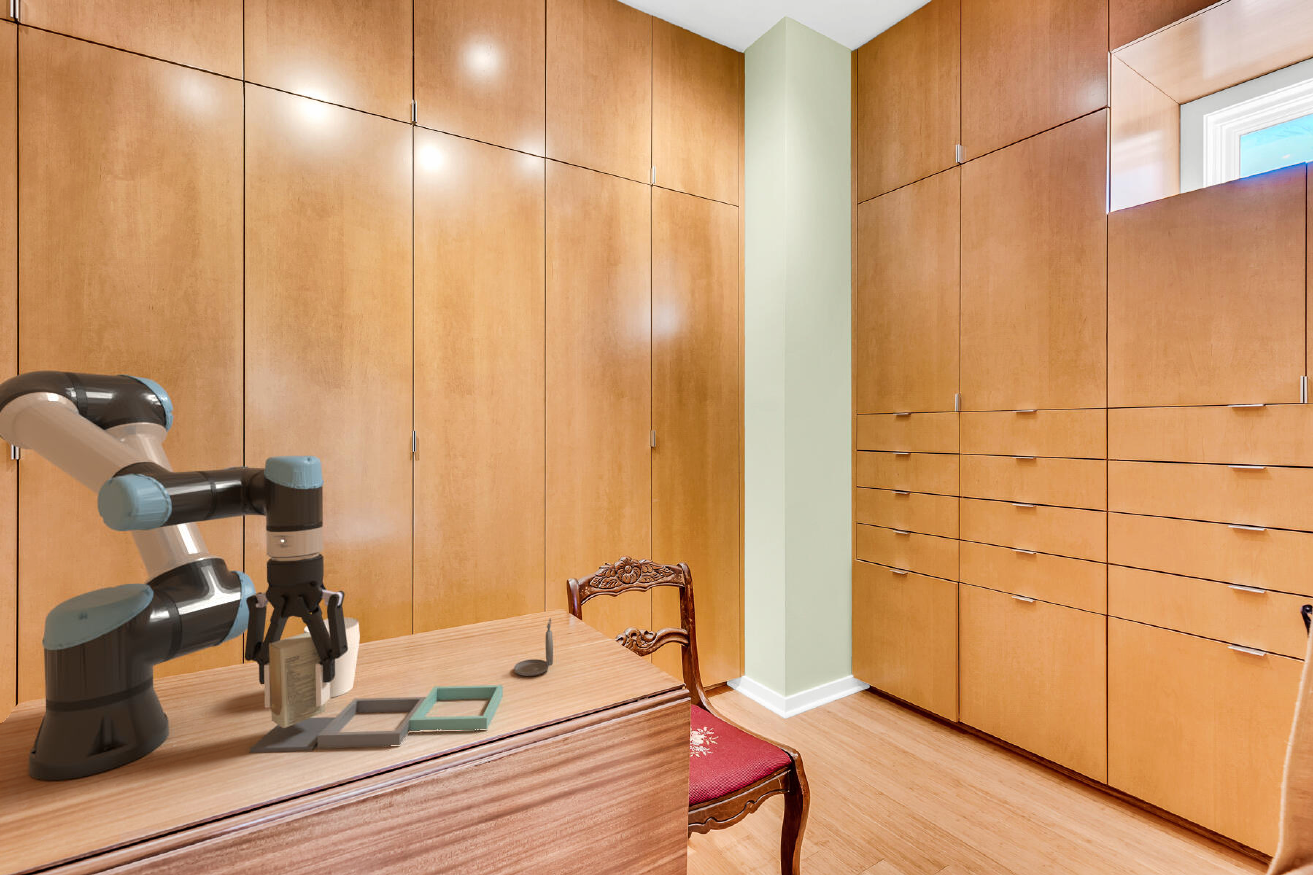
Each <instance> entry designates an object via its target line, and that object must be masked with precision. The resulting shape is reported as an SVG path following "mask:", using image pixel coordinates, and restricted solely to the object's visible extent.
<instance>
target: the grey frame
mask: <svg viewBox="0 0 1313 875" xmlns="http://www.w3.org/2000/svg"><path fill="white" fill-rule="evenodd" d="M426 697H427V696H414V697H413V696H412V697H411V696H410V697H373V698H372V697H371V698H370V697H369V698H368V697H367V698H354V699H352V701H351V702H349V703H348V705H346V706H345V708H343V709H342V710H341V711H340V712H339V713H338V715H336V716H335V717H336V718H335V719H334V720H333V721H332V722H331V723H330V724H328V725H327V726H326V727H325V728H324V729H323V730H322V731H321V732H320V733H319V734H318V735H317V740H318V745H317V749H318V750H321V749H324V750H325V749H349V748H348V747H363V748H386V747H385V746H391V745H400V744H401V742H402V741H403V739H404V738H405V737H406V735H407V734H408V732H409V720H410V719H411V717H412V716H413V714H414V713H415V712H416V710H417V709H418V708H419V706H420V705H421V704H422V702H423V701H424V700H425V698H426ZM392 712H393V713H395V712H396V713H397V712H409V713H408V714H407V716H406V717H405V718H404V720H403V721H402V722H401V724H400V725H399V726H398V728H397V729H396V730H375V731H374V730H372V731H371V730H370V731H342V729H343V728H344V727H345V726H347V725H348V723H349V722H350V721H351V720H352V719H353V718H354V717H355V716H356V715H357V714H358V713H392ZM408 735H409V734H408ZM408 735H407V736H408ZM406 738H407V737H406ZM406 738H405V739H406ZM403 742H404V741H403ZM403 742H402V743H403ZM401 745H402V744H401ZM401 745H400V746H401ZM383 746H384V747H383Z"/></svg>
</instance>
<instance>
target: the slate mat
mask: <svg viewBox="0 0 1313 875" xmlns="http://www.w3.org/2000/svg"><path fill="white" fill-rule="evenodd" d="M336 717H337V716H334V717H333V716H331V717H330V716H329V717H325V716H324V717H311V718H308V719H306V720H303V721H301V722H298V723H296V724H293V725H291V726H288V727H286V728H282V727H281V726H279V725H278V724H276V726H274V727H273V728H272V729H271V730H270V731H268V732H267V733H266V734H265V735H264V736H263V737H261V738H260V739H258V741H256V743H254V744H252V746H251V747H249V753H275V752H277V753H280V752H309V751H310V752H312V751H314V749H316V748H317V747H318V740H317V735H318V734H319V733H320V732H321V731H322V730H323V729H324V728H325V727H326V726H327V725H328V724H330V723H331V722H332V721H333V720H334V719H335V718H336Z"/></svg>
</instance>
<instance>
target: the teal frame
mask: <svg viewBox="0 0 1313 875" xmlns="http://www.w3.org/2000/svg"><path fill="white" fill-rule="evenodd" d="M503 686H504V685H503V684H495V685H492V684H491V685H490V684H489V685H448V686H433V688H432V689H431V690H430V692H428V694H427V696H425V697H426V698H425V700H424V701H423V702H422V704H421V705H420V706H419V708H418V709H417V710H416V712H415V713H414V714H413V716H412V717H411V719H410V720H409V731H420V730H437V729H438V730H440V729H441V730H475V729H476V730H477V729H479V730H480V729H487V728H488V729H489V727H490V725H491V723H492V721H493V719H492V718H494V717H495V714H496V712H497V709H498V708H499V706H500V703H501V701H502V699H503V696H504V695H503V694H504V687H503ZM484 699H486V700H487V699H490V701H489V703H488V705H487V707H486V709H485V711H484V713H483V715H464V716H462V715H461V716H459V715H457V716H426V717H425V715H426V714H427V713H428V712H429V713H430V711H431V710H432V709H433V707H434V706H433V705H435V704H436V702H438V701H440V700H441V701H443V700H444V701H446V700H447V701H449V700H484ZM430 709H431V710H430ZM429 710H430V711H429ZM429 713H428V714H429ZM428 714H427V715H428ZM491 720H492V721H491ZM490 722H491V723H490ZM489 724H490V725H489ZM488 726H489V727H488ZM488 729H487V730H488Z"/></svg>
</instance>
